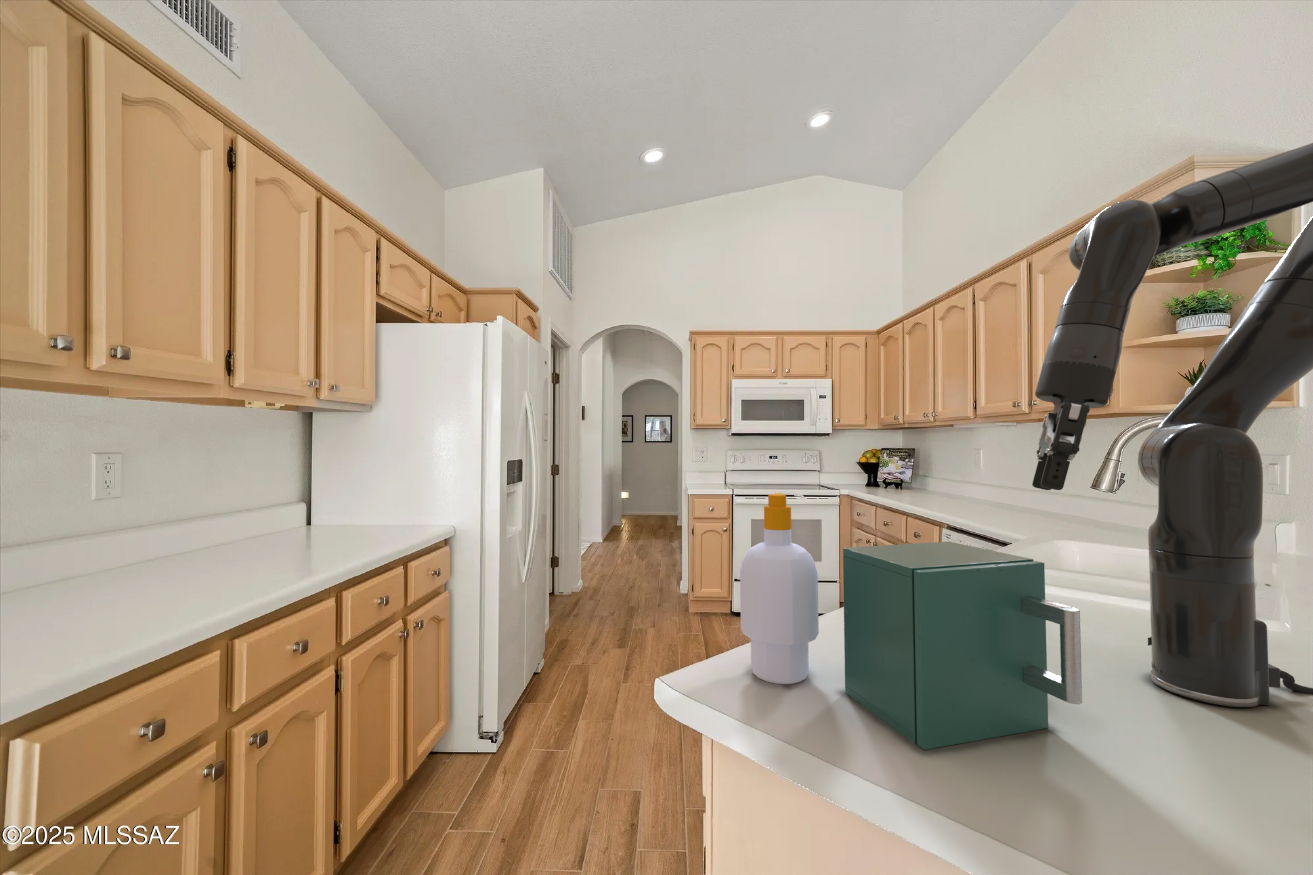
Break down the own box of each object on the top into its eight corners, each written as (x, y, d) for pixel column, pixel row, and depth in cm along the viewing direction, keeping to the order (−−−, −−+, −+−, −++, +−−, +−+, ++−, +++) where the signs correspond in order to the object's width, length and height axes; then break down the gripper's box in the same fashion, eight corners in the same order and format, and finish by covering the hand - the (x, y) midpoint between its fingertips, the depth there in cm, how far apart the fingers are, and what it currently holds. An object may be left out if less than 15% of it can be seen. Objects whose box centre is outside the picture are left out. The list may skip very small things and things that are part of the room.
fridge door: (1101, 755, 52) (1096, 573, 52) (967, 782, 48) (963, 585, 48) (1039, 723, 58) (1035, 560, 59) (916, 744, 54) (913, 570, 55)
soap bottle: (818, 663, 75) (815, 492, 76) (820, 695, 65) (817, 498, 66) (745, 656, 78) (743, 491, 79) (736, 686, 68) (734, 497, 69)
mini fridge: (1037, 723, 58) (1033, 559, 59) (914, 745, 54) (911, 568, 55) (951, 678, 70) (948, 541, 70) (844, 693, 66) (842, 547, 66)
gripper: (1132, 358, 60) (1094, 497, 61) (1102, 380, 72) (1071, 496, 73) (1051, 349, 64) (1016, 480, 64) (1036, 372, 76) (1007, 481, 77)
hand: (1045, 488), depth 69 cm, fingers open, 8 cm apart
